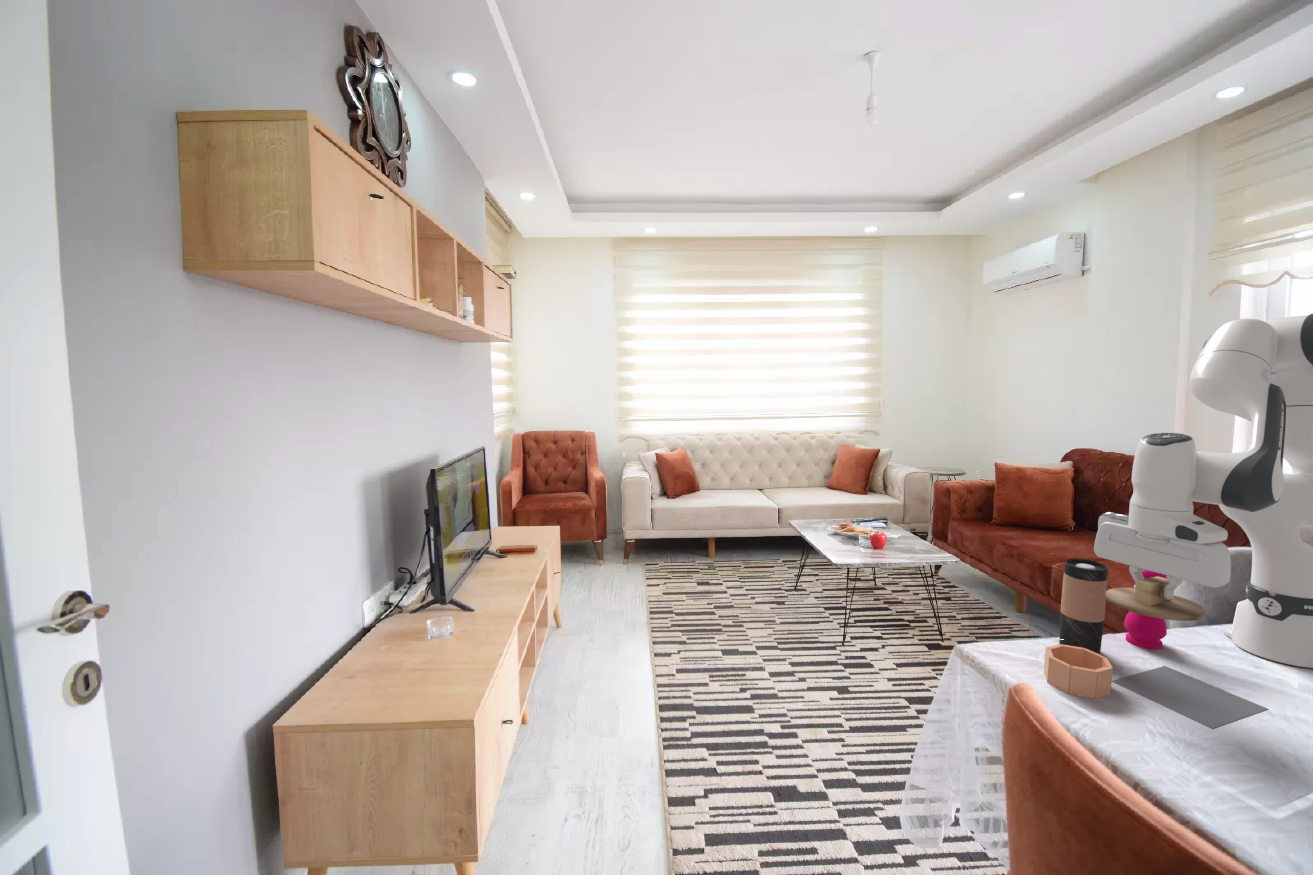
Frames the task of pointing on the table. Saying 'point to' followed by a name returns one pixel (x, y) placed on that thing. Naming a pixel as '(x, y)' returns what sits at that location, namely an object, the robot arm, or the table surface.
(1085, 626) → the travel mug
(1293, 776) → the table surface
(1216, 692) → the mat
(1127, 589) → the lid
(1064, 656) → the bowl
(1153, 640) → the pepper mill
